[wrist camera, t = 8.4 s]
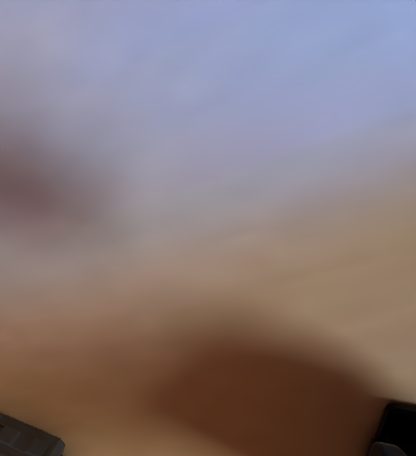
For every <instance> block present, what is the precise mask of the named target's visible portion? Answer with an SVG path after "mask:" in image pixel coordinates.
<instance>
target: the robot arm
mask: <svg viewBox="0 0 416 456" xmlns="http://www.w3.org/2000/svg"><path fill="white" fill-rule="evenodd" d="M396 412H398V413H397V414H394V413H396ZM366 456H416V407H413V406H409V405H404V404H399V403H391V404H389V405H387V406H386V408H385V410H384V413H383V415H382V418H381V421H380V424H379V426H378V429H377V432H376V435H375V436H374V437H373V438H372V439H371V442H370V445H369V448H368V451H367V453H366Z"/></svg>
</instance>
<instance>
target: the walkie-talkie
mask: <svg viewBox="0 0 416 456" xmlns="http://www.w3.org/2000/svg"><path fill="white" fill-rule="evenodd" d="M64 446H65V444H64V442H63V441H62V440H61V439H60V438H58V437H55V436H53V435H51V434H48V433H46V432H44V431H41V430H39V429H37V428H34V427H32V426H30V425H27V424H25V423H23V422H20V421H18V420H16V419H13V418H11V417H9V416H6V415H4V414H2V413H0V456H61V455H62V452H63V449H64Z"/></svg>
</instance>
